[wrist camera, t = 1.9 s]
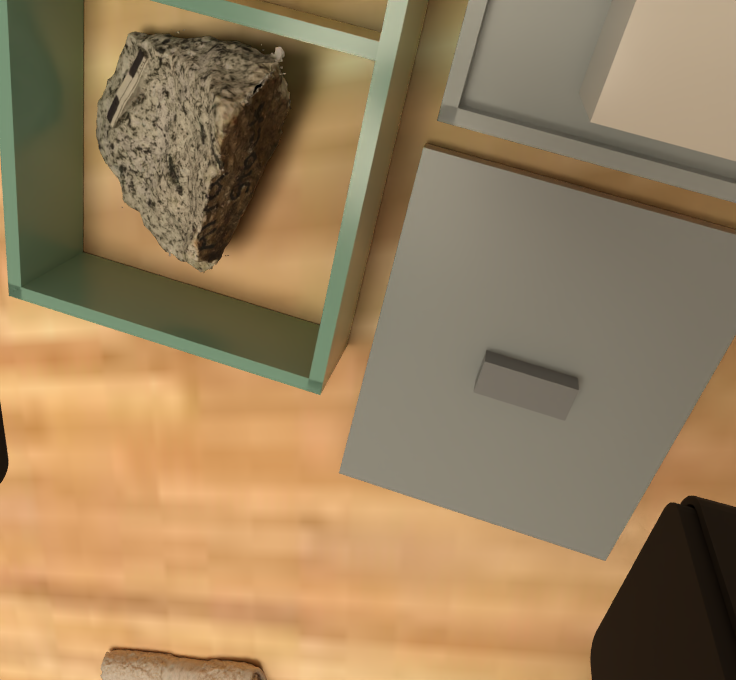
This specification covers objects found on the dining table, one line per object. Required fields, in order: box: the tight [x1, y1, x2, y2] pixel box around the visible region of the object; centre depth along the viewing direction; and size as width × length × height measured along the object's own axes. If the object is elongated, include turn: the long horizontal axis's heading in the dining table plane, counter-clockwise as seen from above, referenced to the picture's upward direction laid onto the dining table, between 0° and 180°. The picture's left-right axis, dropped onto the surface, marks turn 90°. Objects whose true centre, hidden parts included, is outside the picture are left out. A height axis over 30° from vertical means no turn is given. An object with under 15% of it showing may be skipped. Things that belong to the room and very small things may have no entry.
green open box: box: [0, 0, 429, 395], centre depth 24 cm, size 14×24×4 cm, turn 167°
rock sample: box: [96, 30, 291, 275], centre depth 26 cm, size 10×8×9 cm
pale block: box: [579, 0, 736, 161], centre depth 20 cm, size 4×4×6 cm
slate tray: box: [339, 0, 736, 561], centre depth 24 cm, size 14×34×2 cm, turn 167°
